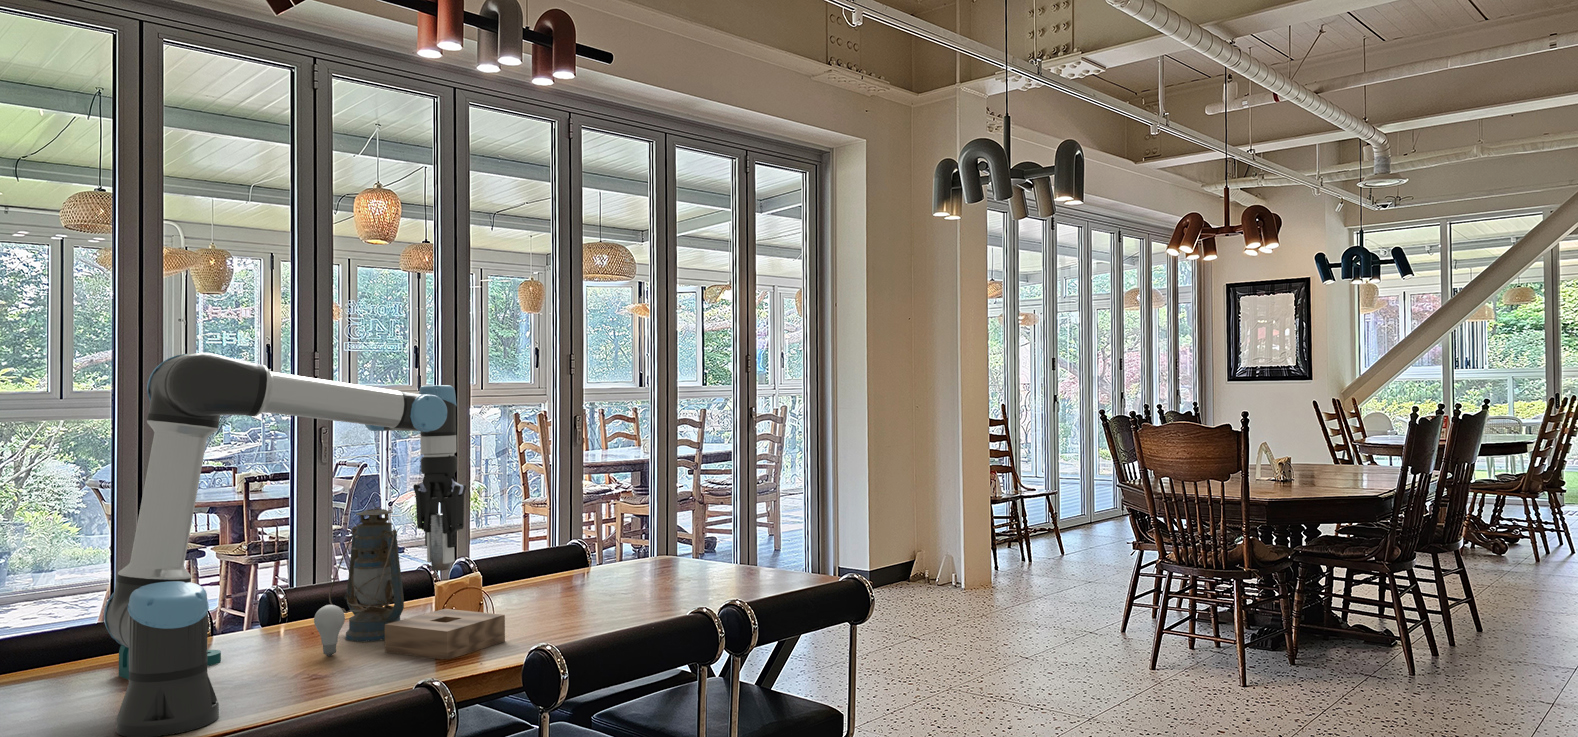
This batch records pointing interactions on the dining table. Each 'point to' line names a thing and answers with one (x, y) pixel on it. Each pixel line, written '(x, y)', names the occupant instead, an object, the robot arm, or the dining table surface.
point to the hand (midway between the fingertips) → (440, 561)
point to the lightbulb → (329, 626)
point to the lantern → (373, 578)
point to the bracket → (212, 659)
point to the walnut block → (444, 633)
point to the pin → (437, 543)
